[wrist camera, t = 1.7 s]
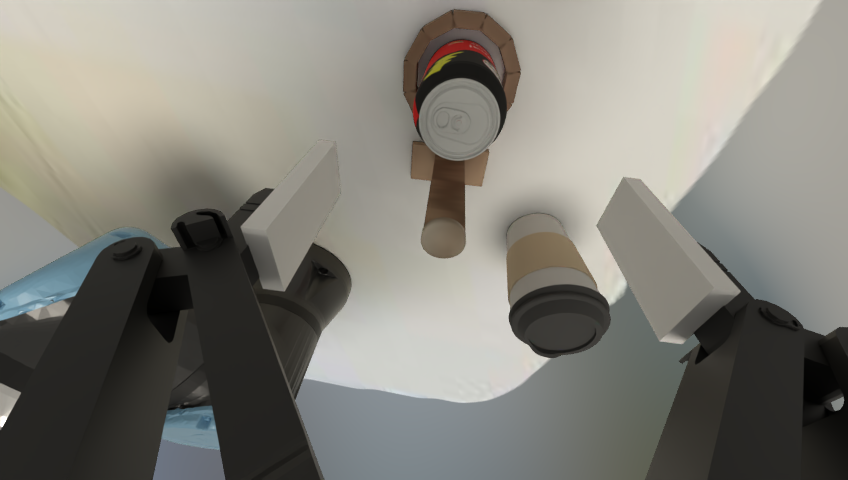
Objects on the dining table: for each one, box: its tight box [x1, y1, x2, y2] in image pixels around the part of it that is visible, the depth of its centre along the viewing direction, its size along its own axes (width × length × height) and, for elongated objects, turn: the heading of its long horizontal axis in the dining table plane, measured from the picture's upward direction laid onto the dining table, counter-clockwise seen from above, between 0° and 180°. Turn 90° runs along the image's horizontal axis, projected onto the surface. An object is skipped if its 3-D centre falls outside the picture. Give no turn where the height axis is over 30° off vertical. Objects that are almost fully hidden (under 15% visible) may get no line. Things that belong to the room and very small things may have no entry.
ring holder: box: [403, 9, 521, 258], centre depth 25 cm, size 10×16×15 cm, turn 176°
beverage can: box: [413, 40, 507, 161], centre depth 24 cm, size 6×6×12 cm
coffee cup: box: [506, 213, 611, 358], centre depth 34 cm, size 9×9×15 cm
